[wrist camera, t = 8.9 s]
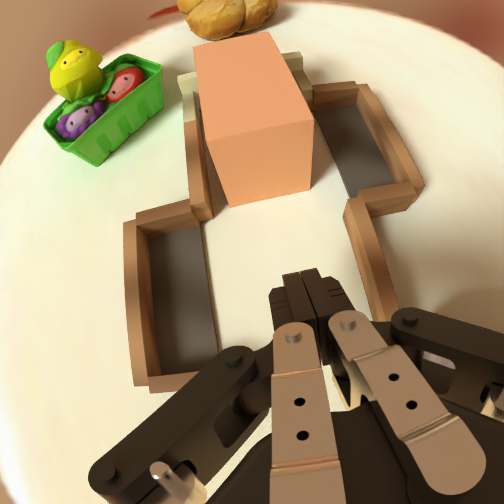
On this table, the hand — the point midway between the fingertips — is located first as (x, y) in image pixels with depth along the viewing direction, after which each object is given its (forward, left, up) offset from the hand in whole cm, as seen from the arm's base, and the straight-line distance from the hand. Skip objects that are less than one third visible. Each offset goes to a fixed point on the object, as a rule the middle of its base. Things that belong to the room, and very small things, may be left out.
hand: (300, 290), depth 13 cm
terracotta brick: (-12, -7, -7) cm, 16 cm away
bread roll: (-33, -17, -7) cm, 37 cm away
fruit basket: (-12, -22, -7) cm, 26 cm away
